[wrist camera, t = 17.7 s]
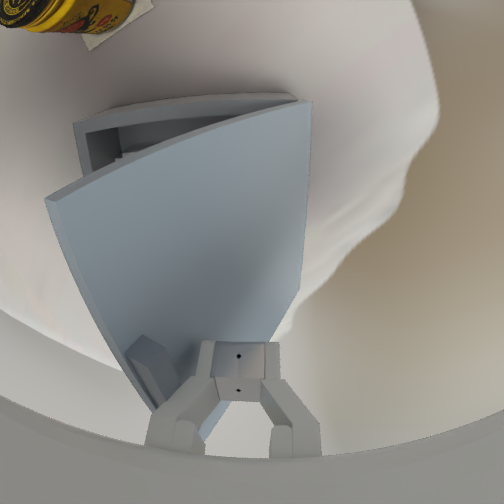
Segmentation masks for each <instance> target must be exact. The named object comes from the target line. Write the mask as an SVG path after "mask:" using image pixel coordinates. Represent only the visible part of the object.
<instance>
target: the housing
mask: <svg viewBox="0 0 504 504" xmlns="http://www.w3.org/2000/svg"><path fill="white" fill-rule="evenodd" d="M297 101H298V100H297V99H296V98H295V97H293V96H292V95H291V94H289V93H228V94H211V95H199V96H188V97H179V98H171V99H163V100H156V101H149V102H143V103H137V104H131V105H126V106H121V107H116V108H111V109H108V110H105V111H102V112H100V113H97V114H95V115H92V116H89V117H87V118H84V119H82V120H79V121H77V122H75V123H73V128H74V133H75V139H76V144H77V149H78V154H79V159H80V164H81V168H82V173H83V177H85V176H86V175H88V174H91V173H93V172H95V171H97V170H99V169H101V168H103V167H105V166H107V165H109V164H111V163H114V162H116V161H118V160H120V159H122V158H125V157H127V156H129V155H132V154H134V153H136V152H139V151H141V150H143V149H146V148H148V147H151V146H153V145H156V144H158V143H161V142H163V141H166V140H169V139H171V138H174V137H177V136H179V135H182V134H185V133H188V132H191V131H194V130H196V129H199V128H202V127H205V126H208V125H212V124H215V123H218V122H221V121H224V120H228V119H231V118H234V117H238V116H241V115H245V114H248V113H252V112H256V111H259V110H263V109H267V108H271V107H275V106H279V105H284V104H288V103H292V102H297Z"/></svg>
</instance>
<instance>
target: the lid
mask: <svg viewBox="0 0 504 504" xmlns="http://www.w3.org/2000/svg"><path fill="white" fill-rule="evenodd" d="M311 126H312V101H306V100H302V101H297V102H292V103H288V104H284V105H279V106H275V107H271V108H267V109H263V110H259V111H256V112H252V113H248V114H245V115H241V116H238V117H234V118H231V119H228V120H224V121H221V122H218V123H215V124H212V125H208V126H205V127H202V128H199V129H196V130H194V131H191V132H188V133H185V134H182V135H179V136H177V137H174V138H171V139H169V140H166V141H163V142H161V143H158V144H156V145H153V146H151V147H148V148H146V149H143V150H141V151H139V152H136V153H134V154H132V155H129V156H127V157H125V158H122V159H120V160H118V161H116V162H114V163H111V164H109V165H107V166H105V167H103V168H101V169H99V170H97V171H95V172H93V173H91V174H88V175H86V176H85V177H83V178H81V179H79V180H77V181H75V182H73V183H71V184H69V185H67V186H65V187H64V188H62V189H60V190H58V191H56V192H54V193H53V194H51V195H49V196H47V197H46V198H44V201H45V204H46V207H47V210H48V213H49V216H50V219H51V222H52V225H53V228H54V231H55V233H56V236H57V239H58V241H59V244H60V247H61V249H62V252H63V254H64V257H65V259H66V262H67V264H68V266H69V269H70V271H71V273H72V276H73V278H74V280H75V282H76V284H77V287H78V289H79V291H80V293H81V295H82V297H83V299H84V301H85V303H86V305H87V307H88V309H89V311H90V313H91V315H92V317H93V319H94V321H95V323H96V325H97V327H98V329H99V330H100V332H101V334H102V336H103V338H104V339H105V341H106V343H107V345H108V346H109V348H110V350H111V351H112V353H113V355H114V356H115V358H116V360H117V361H118V363H119V365H120V366H121V368H122V369H123V371H124V373H125V374H126V376H127V377H128V379H129V380H130V382H131V383H132V385H133V386H134V388H135V389H136V391H137V392H138V394H139V395H140V397H141V398H142V399H143V401H144V402H145V404H146V405H147V406H148V408H149V409H150V410H151V412H152V413H154V412H155V411H156V410H157V409H158V408H159V407H160V406H161V405H162V404H163V403H164V402H165V401H166V402H167V401H168V399H169V398H170V397H171V396H172V395H173V394H174V393H175V391H176V390H177V389H178V388H179V387H180V386H181V385H182V384H183V383H184V382H185V381H186V380H187V379H188V378H189V377H190V376H195V372H196V367H197V362H198V356H199V351H200V346H201V343H202V341H203V340H213V341H230V342H269V341H270V339H271V337H272V336H273V334H274V332H275V331H276V329H277V327H278V325H279V324H280V322H281V320H282V319H283V317H284V315H285V313H286V312H287V310H288V308H289V306H290V305H291V303H292V301H293V299H294V298H295V296H296V294H297V292H298V291H299V289H300V280H301V270H302V260H303V250H304V238H305V227H306V214H307V201H308V186H309V169H310V150H311ZM230 403H231V401H220V402H219V404H218V405H217V406H216V407H215V409H214V410H213V411H212V412H211V414H210V415H209V416H208V417H207V419H206V420H205V421H204V422H203V424H202V425H201V426H200V427H199V429H198V432H199V434H200V436H201V438H202V440H203V441H205V440H206V438H207V437H208V436H209V434H210V433H211V431H212V430H213V428H214V427H215V425H216V424H217V422H218V421H219V419H220V418H221V416H222V415H223V413H224V412H225V410H226V409H227V407H228V406H229V404H230Z"/></svg>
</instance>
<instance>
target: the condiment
mask: <svg viewBox="0 0 504 504" xmlns="http://www.w3.org/2000/svg"><path fill="white" fill-rule="evenodd" d="M153 8H154V6H153V4H152V2H151V0H0V24H1V25H3V26H5V27H7V28H25V29H26V30H28V31H31V32H40V33H45V32H61V33H80V34H81V36H82V38H83V40H84V42H85V44H86V46H87V48H88V50H89V52H90V51H92V50H93V49H94V48H95V47H97V46H98V45H100V44H101V43H102V42H103V41H105V40H106V39H108V38H109V37H110V36H112V35H113V34H115V33H116V32H118V31H119V30H120V29H122V28H123V27H125V26H126V25H128V24H129V23H131V22H132V21H134V20H135V19H137V18H138V17H139V16H141V15H143V14H144V13H146V12H147V11H149V10H151V9H153Z"/></svg>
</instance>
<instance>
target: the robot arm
mask: <svg viewBox="0 0 504 504" xmlns="http://www.w3.org/2000/svg"><path fill="white" fill-rule="evenodd" d="M220 401H249V402H250V401H251V402H260V403H261V405H262V406H263V408H264V409H265V411H266V413H267V414H268V416H269V418H270V419H271V421H272V422H273V424H274V427H273V428H272V430H271V440H270V447H269V458H236V457H221V456H209V455H204V454H205V443H204V441H203V440H202V438H201V436H200V434H199V432H198V429H199V427H200V426H201V425H202V424H203V422H204V421H205V420H206V419H207V417H208V416H209V415H210V414H211V412H212V411H213V410H214V409H215V407H216V406H217V405H218V404H219V402H220ZM0 504H504V410H502V411H499V412H497V413H495V414H492V415H490V416H488V417H485V418H483V419H480V420H478V421H475V422H472V423H470V424H467V425H464V426H461V427H459V428H456V429H453V430H450V431H446V432H443V433H440V434H437V435H434V436H430V437H426V438H423V439H419V440H415V441H411V442H407V443H403V444H398V445H393V446H389V447H384V448H378V449H373V450H367V451H361V452H354V453H346V454H339V455H328V456H322V451H321V438H320V425H319V422H318V421H317V420H316V418H315V417H314V416H313V415H312V414H311V412H310V411H309V410H308V409H307V407H306V406H305V405H304V404H303V402H302V401H301V400H300V399H299V397H298V396H297V395H296V394H295V392H294V391H293V390H292V388H291V387H290V386H289V385H288V383H287V382H286V381H285V380H284V379H280V346H279V342H230V341H213V340H203V341H202V343H201V346H200V351H199V356H198V362H197V367H196V372H195V376H190V377H189V378H188V379H187V380H186V381H185V382H184V383H183V384H182V385H181V386H180V387H179V388H178V389H177V390H176V391H175V393H174V394H173V395H172V396H171V397H170V398H169V399H168V401H167V402H166V401H165V402H164V403H163V404H162V405H161V406H160V407H159V408H158V409H157V410H156V411H155V412H154V413H152V415H151V418H150V422H149V427H148V431H147V435H146V440H145V444H144V446H143V445H139V444H134V443H130V442H126V441H121V440H118V439H114V438H110V437H106V436H103V435H99V434H96V433H93V432H89V431H86V430H83V429H80V428H77V427H74V426H71V425H68V424H65V423H63V422H60V421H57V420H55V419H52V418H50V417H47V416H45V415H42V414H40V413H37V412H35V411H33V410H30V409H28V408H26V407H24V406H22V405H19V404H17V403H15V402H13V401H11V400H9V399H7V398H5V397H3V396H1V395H0Z"/></svg>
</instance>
